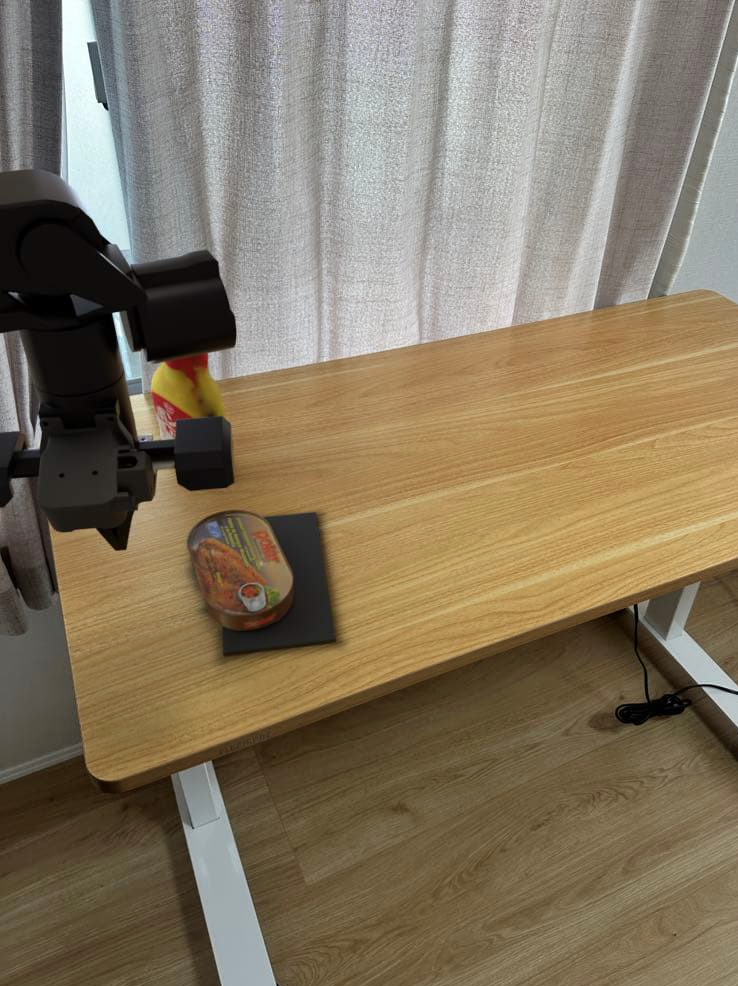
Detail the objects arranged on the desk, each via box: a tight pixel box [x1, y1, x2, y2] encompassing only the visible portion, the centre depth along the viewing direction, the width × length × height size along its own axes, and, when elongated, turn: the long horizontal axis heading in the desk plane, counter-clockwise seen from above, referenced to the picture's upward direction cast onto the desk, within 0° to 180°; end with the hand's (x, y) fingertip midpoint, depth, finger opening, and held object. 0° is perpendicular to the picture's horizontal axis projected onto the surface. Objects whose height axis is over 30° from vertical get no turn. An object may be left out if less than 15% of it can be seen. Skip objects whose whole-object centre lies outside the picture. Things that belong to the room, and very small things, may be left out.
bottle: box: [150, 353, 227, 440], centre depth 88 cm, size 12×6×20 cm, turn 37°
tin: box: [185, 509, 294, 631], centre depth 78 cm, size 15×3×8 cm
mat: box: [222, 511, 337, 656], centre depth 79 cm, size 10×18×1 cm, turn 11°
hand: (121, 547), depth 63 cm, fingers closed
